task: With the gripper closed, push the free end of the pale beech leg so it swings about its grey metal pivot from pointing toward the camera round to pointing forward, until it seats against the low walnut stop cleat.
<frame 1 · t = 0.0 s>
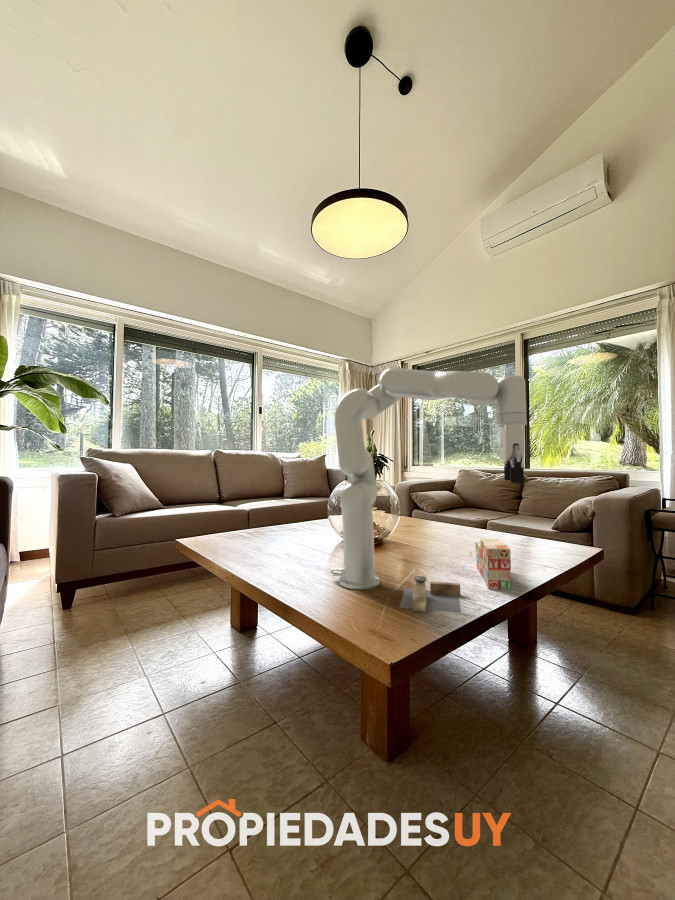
hand: (513, 481, 105), 31 cm above the table, fingers open, 9 cm apart
stack of blocks: (492, 579, 118), on the table
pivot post: (421, 596, 104), resting on mat
mat: (430, 600, 101), on the table
leg: (419, 597, 98), point 2 cm above the table, hinge at 0.0°
stop cleat: (445, 594, 105), resting on mat
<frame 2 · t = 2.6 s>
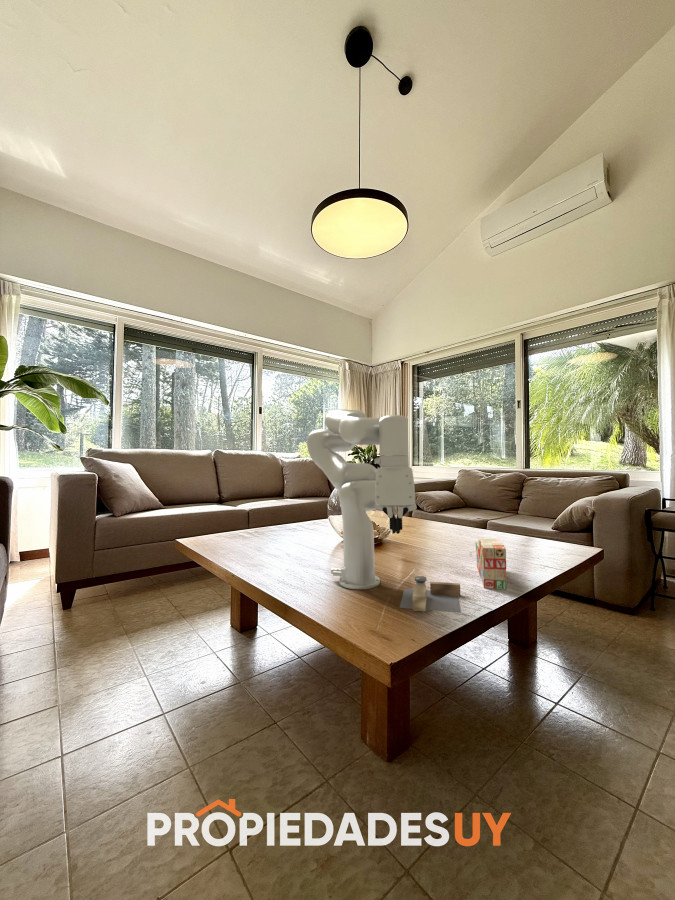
hand: (396, 532, 98), 19 cm above the table, fingers closed
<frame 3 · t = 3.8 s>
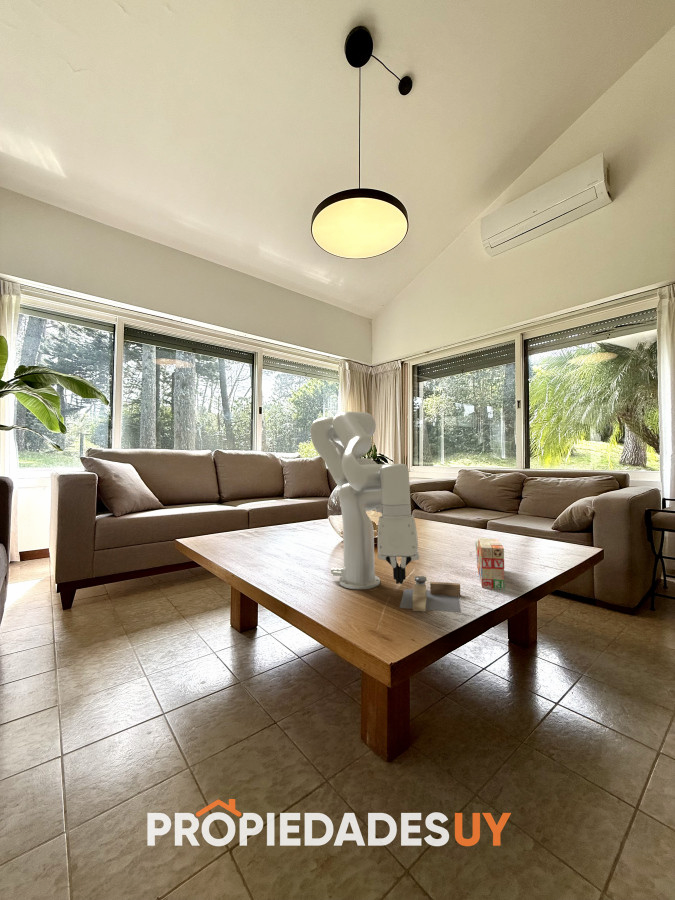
hand: (399, 582, 97), 6 cm above the table, fingers closed
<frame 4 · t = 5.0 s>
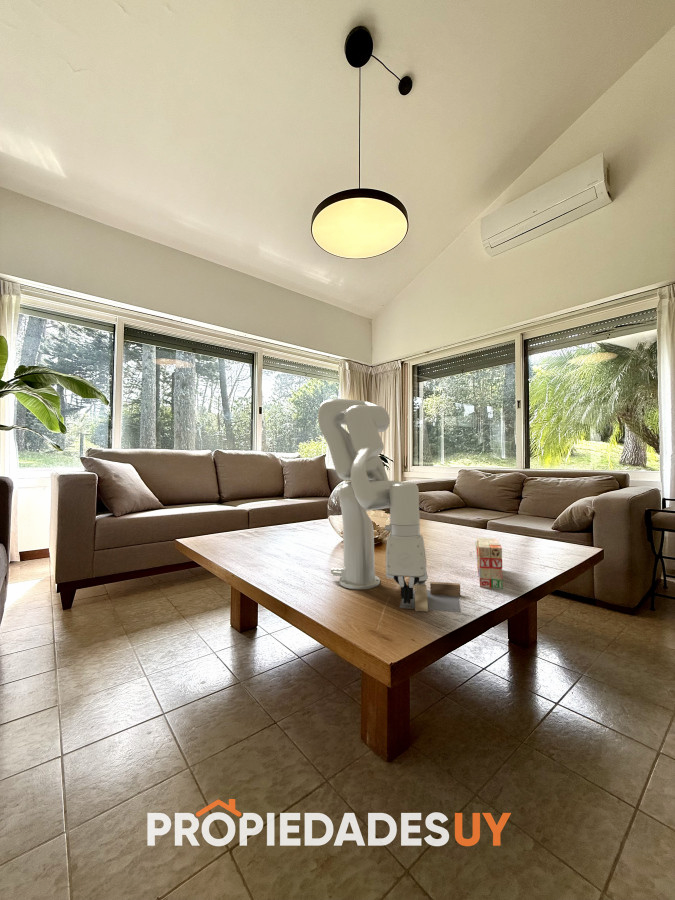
hand: (407, 601, 97), 1 cm above the table, fingers closed
leg: (421, 597, 98), point 2 cm above the table, hinge at 3.2°, touching gripper
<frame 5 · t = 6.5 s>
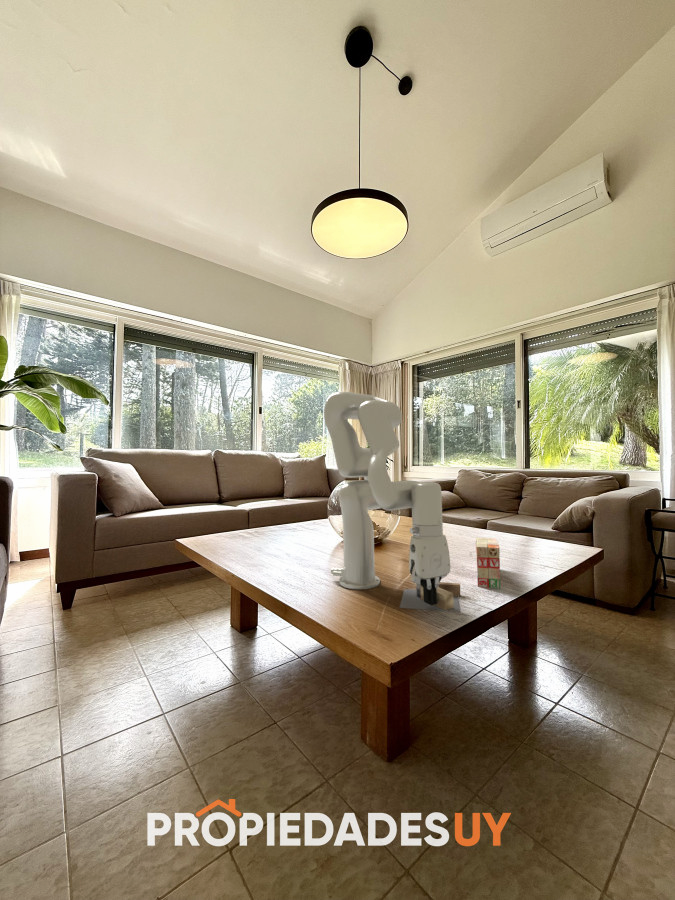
hand: (430, 602, 95), 2 cm above the table, fingers closed
leg: (436, 596, 98), point 2 cm above the table, hinge at 43.5°, touching gripper
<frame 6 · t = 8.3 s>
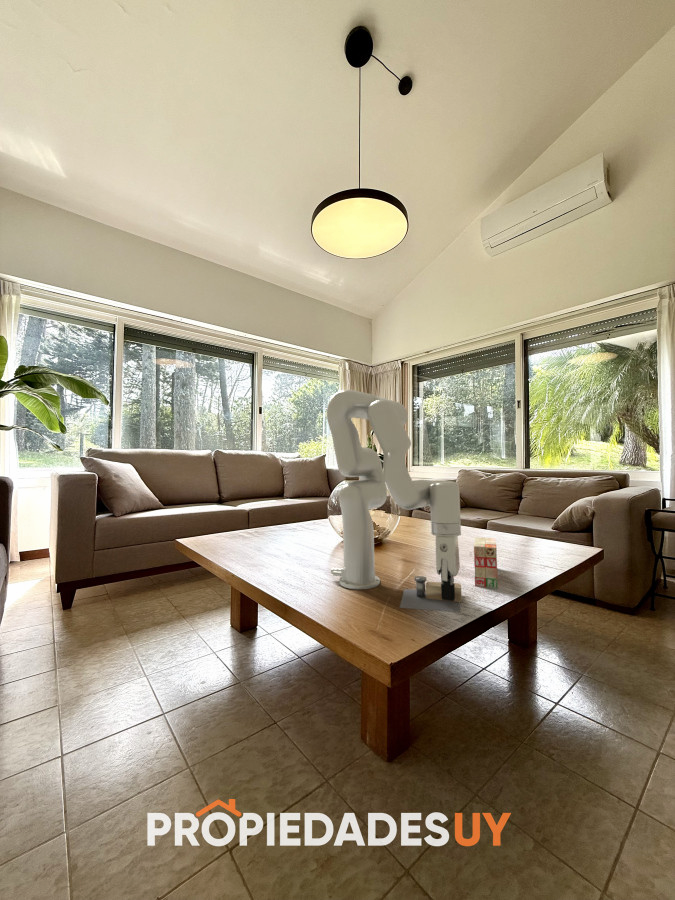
hand: (448, 599, 98), 2 cm above the table, fingers closed
leg: (443, 591, 102), point 2 cm above the table, hinge at 84.4°, touching gripper
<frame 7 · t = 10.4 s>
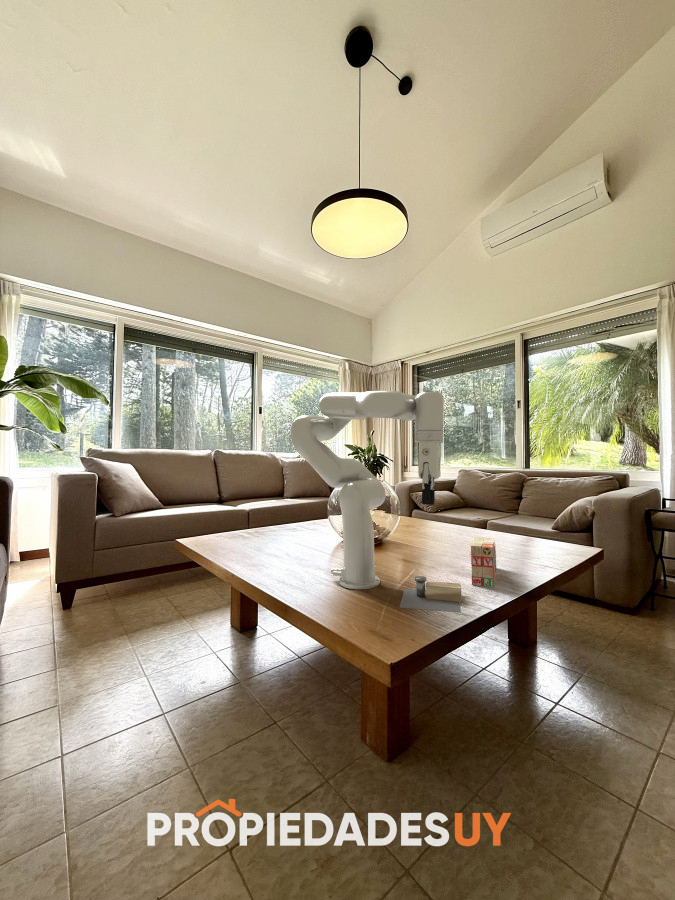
hand: (428, 504, 103), 26 cm above the table, fingers closed
leg: (443, 591, 102), point 2 cm above the table, hinge at 84.5°
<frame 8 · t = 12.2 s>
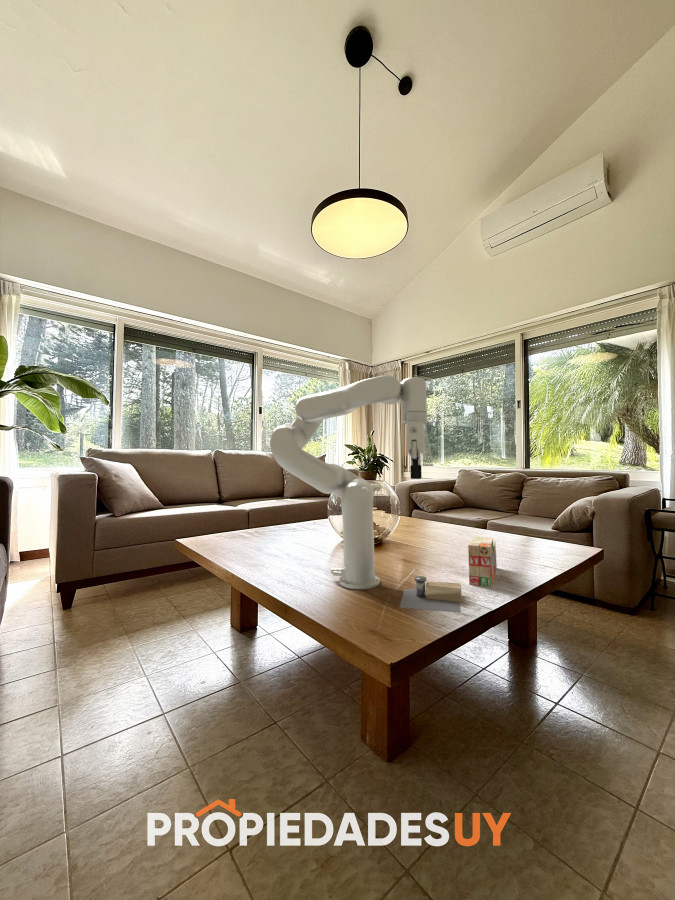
hand: (416, 478, 114), 32 cm above the table, fingers closed
at the end: leg at +84° (first picture: +0°) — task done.
